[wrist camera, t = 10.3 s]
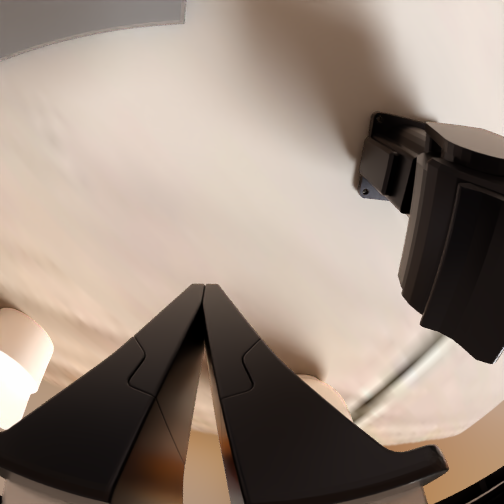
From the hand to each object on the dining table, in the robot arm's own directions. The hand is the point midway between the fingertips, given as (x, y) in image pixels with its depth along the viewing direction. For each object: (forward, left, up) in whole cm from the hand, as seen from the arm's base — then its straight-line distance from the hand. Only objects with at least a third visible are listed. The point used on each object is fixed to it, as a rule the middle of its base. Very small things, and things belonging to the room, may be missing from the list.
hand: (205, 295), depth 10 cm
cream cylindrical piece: (+25, +20, -13) cm, 35 cm away
